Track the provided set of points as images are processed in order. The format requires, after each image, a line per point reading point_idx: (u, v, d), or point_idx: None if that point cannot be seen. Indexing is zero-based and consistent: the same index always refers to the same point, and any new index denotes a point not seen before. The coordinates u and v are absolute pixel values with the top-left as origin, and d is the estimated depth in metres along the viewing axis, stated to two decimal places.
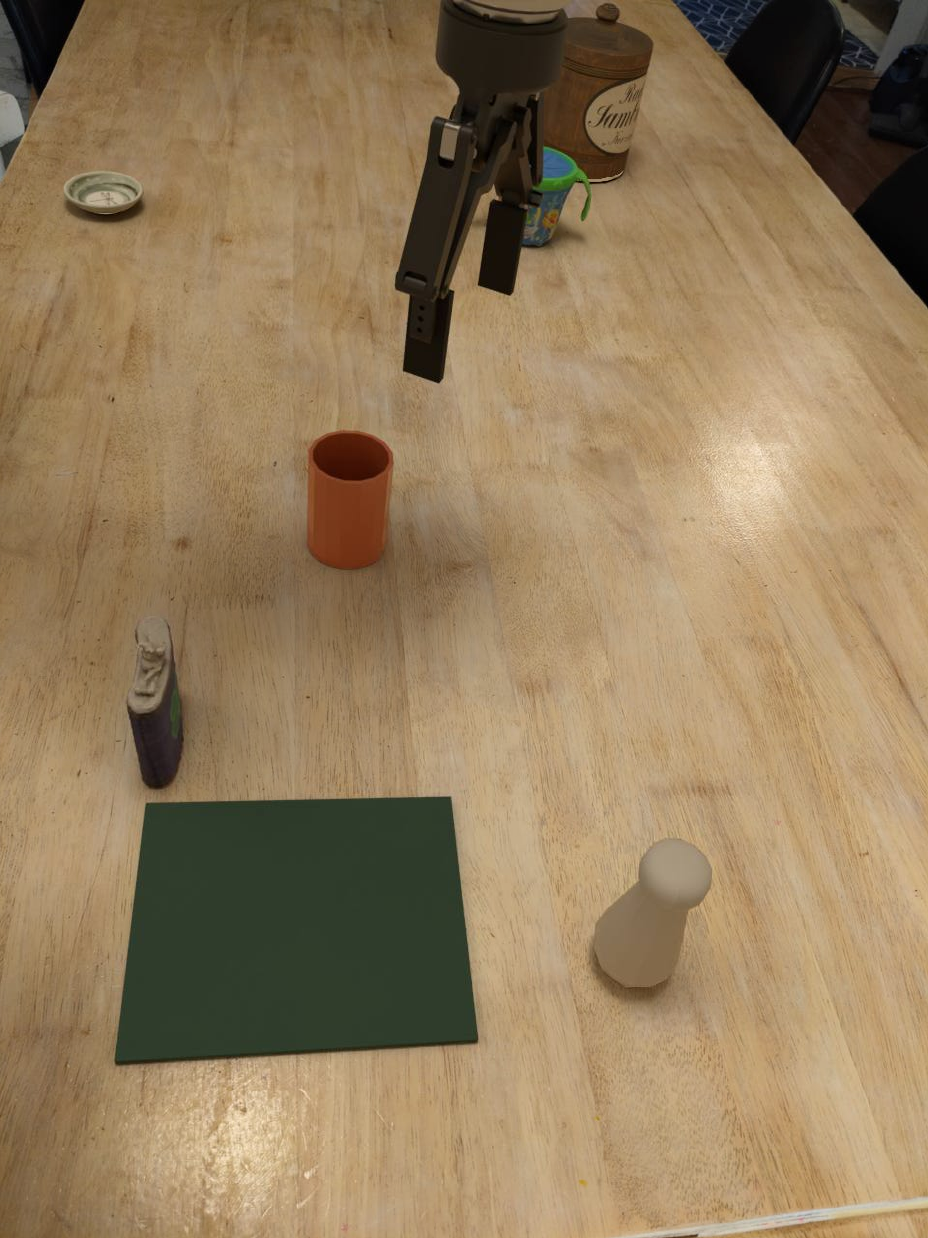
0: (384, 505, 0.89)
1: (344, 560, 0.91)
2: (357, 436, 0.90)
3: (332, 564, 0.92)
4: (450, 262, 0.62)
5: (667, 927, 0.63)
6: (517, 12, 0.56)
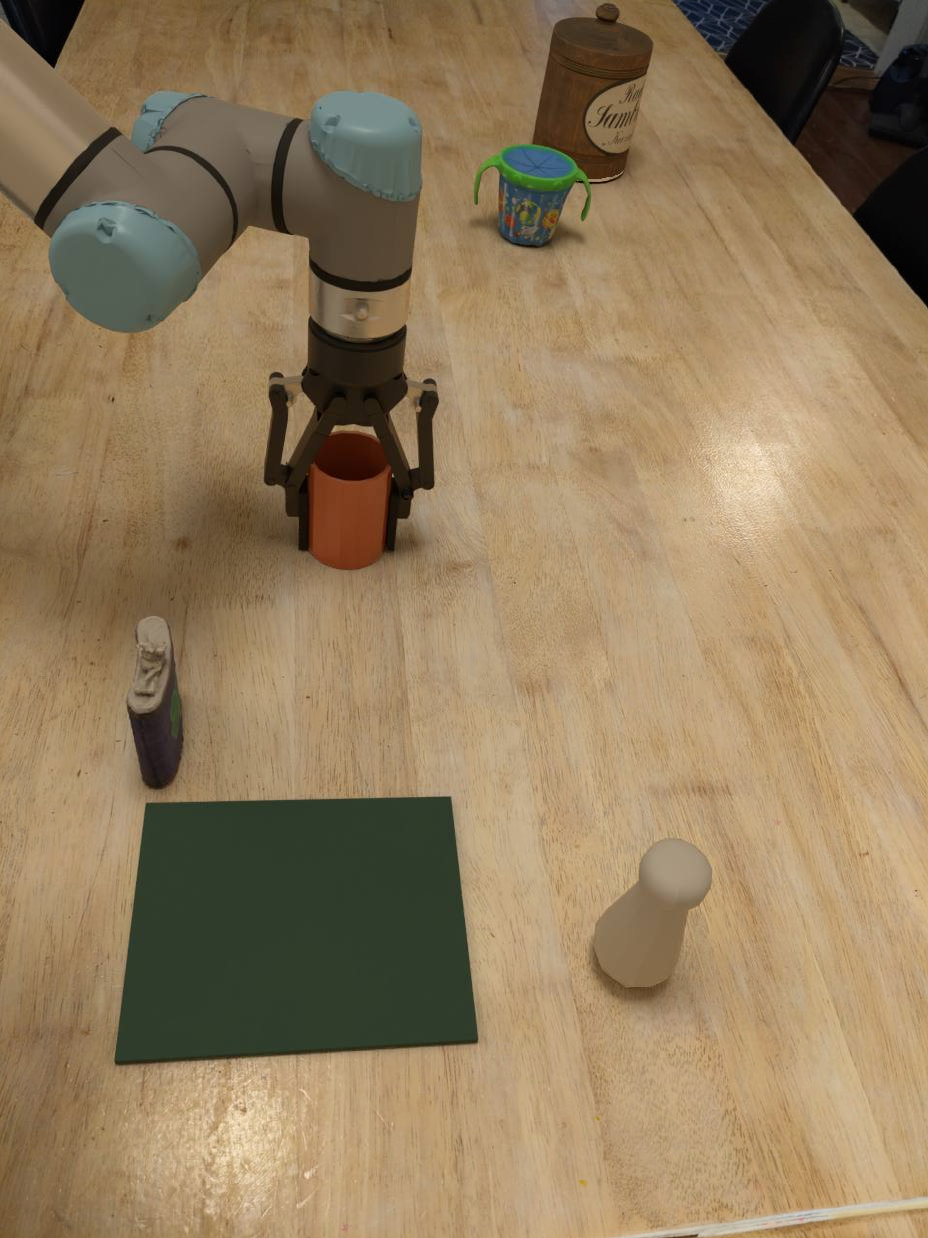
0: (384, 505, 0.89)
1: (344, 560, 0.91)
2: (357, 436, 0.90)
3: (332, 564, 0.92)
4: (292, 472, 0.86)
5: (667, 927, 0.63)
6: None
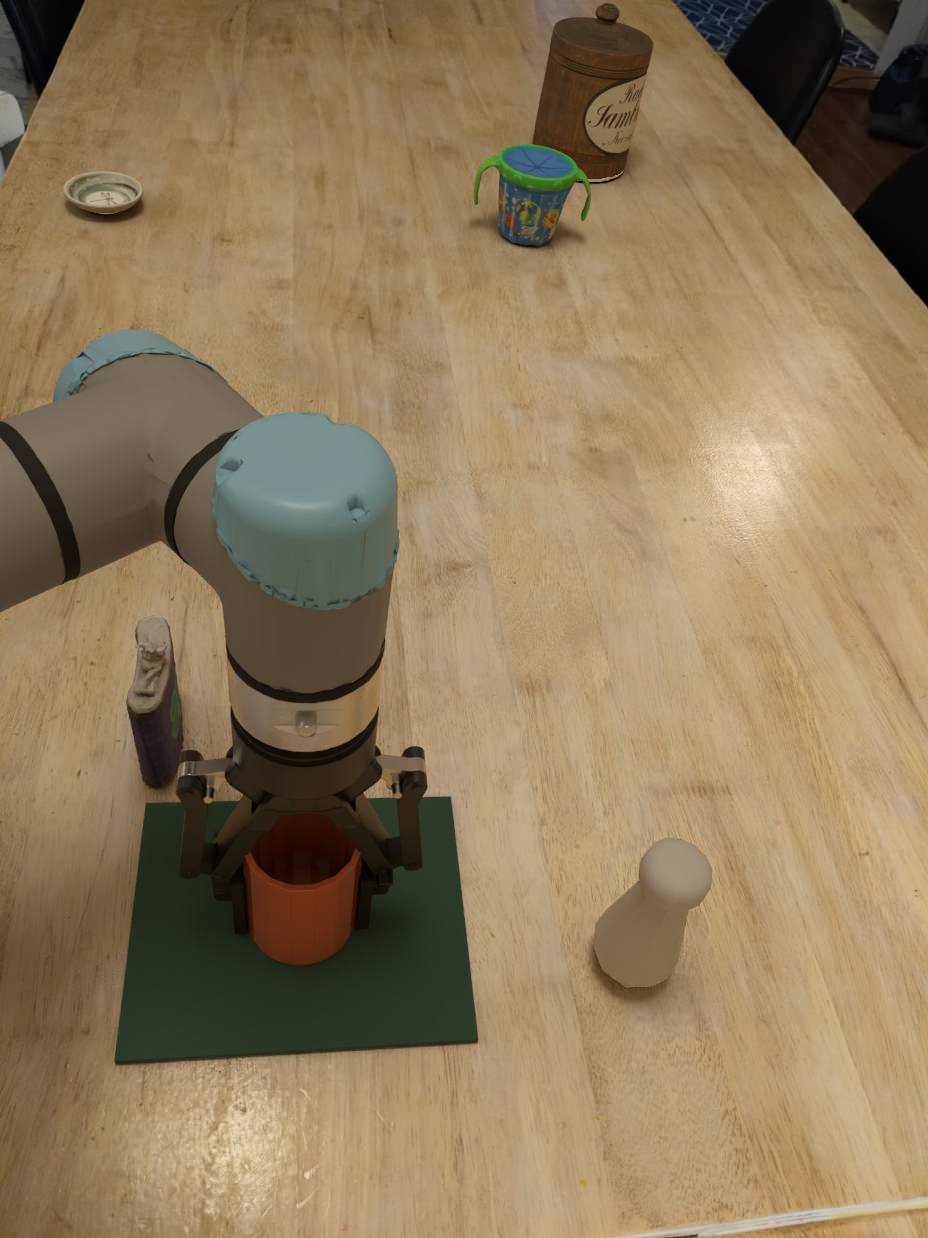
0: (351, 895, 0.63)
1: (297, 958, 0.65)
2: None
3: (281, 960, 0.66)
4: (218, 863, 0.61)
5: (667, 927, 0.63)
6: None
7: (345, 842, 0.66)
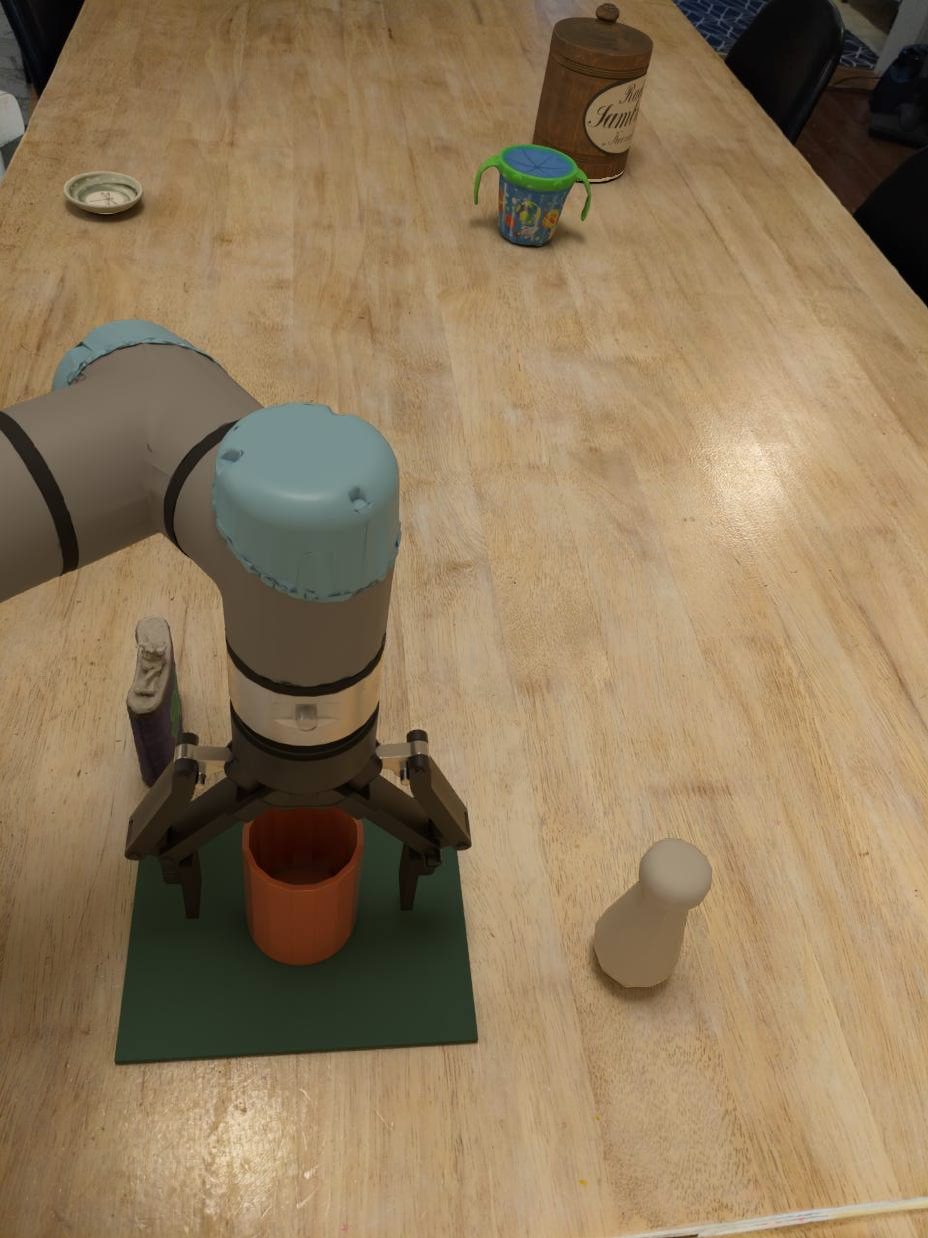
0: (351, 895, 0.63)
1: (297, 958, 0.65)
2: None
3: (281, 960, 0.66)
4: (174, 845, 0.59)
5: (667, 927, 0.63)
6: None
7: (345, 842, 0.66)
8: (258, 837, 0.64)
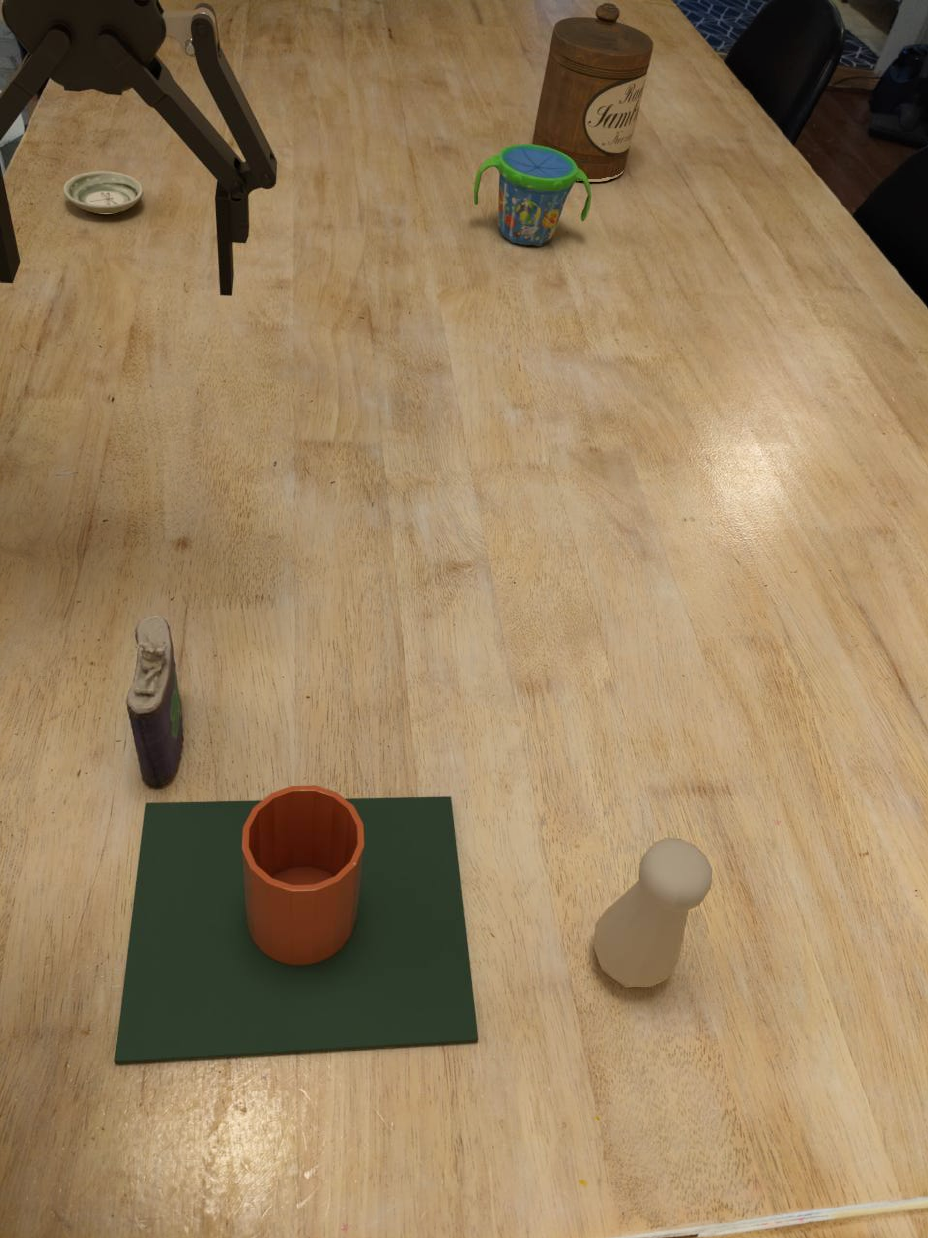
0: (351, 895, 0.63)
1: (297, 958, 0.65)
2: (314, 794, 0.64)
3: (281, 960, 0.66)
4: None
5: (667, 927, 0.63)
6: None
7: (345, 842, 0.66)
8: (258, 837, 0.64)
